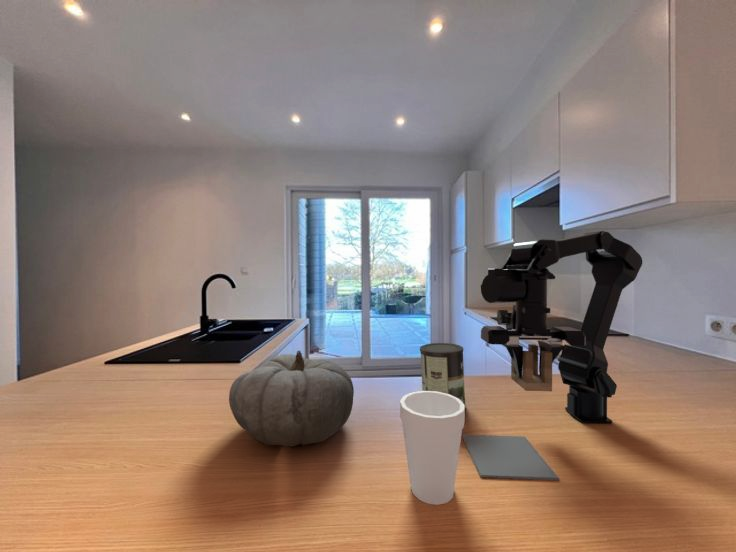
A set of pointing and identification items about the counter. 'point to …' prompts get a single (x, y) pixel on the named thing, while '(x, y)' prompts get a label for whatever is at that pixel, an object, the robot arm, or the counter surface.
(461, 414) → the foam cup
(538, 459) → the mat
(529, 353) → the wooden chair
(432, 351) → the coffee can
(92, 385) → the counter surface
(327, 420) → the gourd
